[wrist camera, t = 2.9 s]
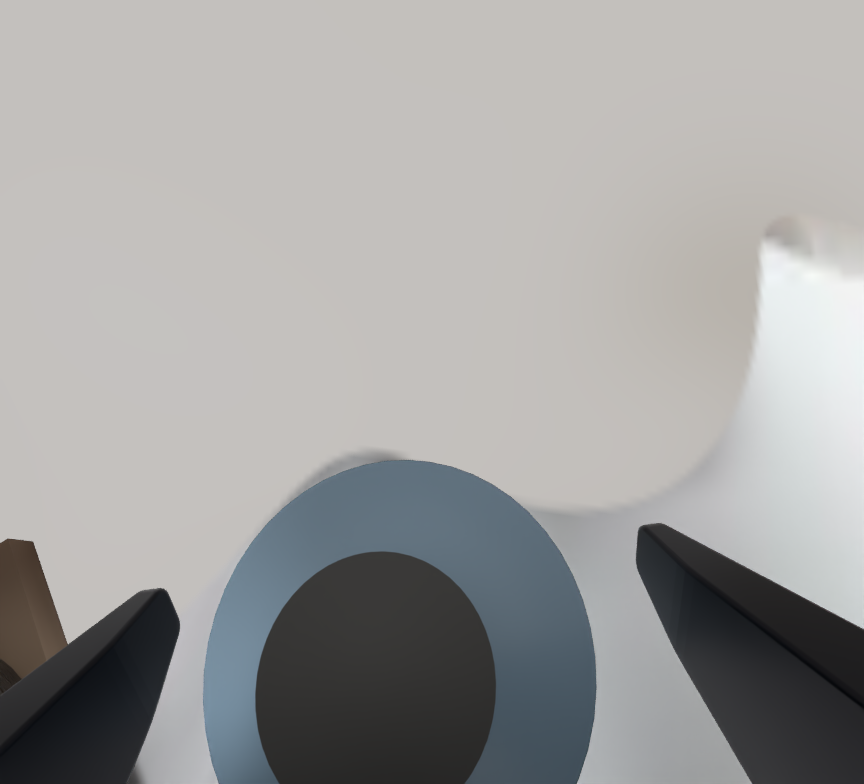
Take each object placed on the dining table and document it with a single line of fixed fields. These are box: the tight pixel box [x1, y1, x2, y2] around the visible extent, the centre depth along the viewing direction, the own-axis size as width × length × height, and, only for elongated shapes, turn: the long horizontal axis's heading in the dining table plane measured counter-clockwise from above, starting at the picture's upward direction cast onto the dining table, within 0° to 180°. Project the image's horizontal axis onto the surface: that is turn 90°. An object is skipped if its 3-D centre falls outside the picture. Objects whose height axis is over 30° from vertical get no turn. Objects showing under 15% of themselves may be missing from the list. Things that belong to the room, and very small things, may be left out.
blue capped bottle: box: [203, 460, 596, 784], centre depth 9 cm, size 5×5×12 cm
